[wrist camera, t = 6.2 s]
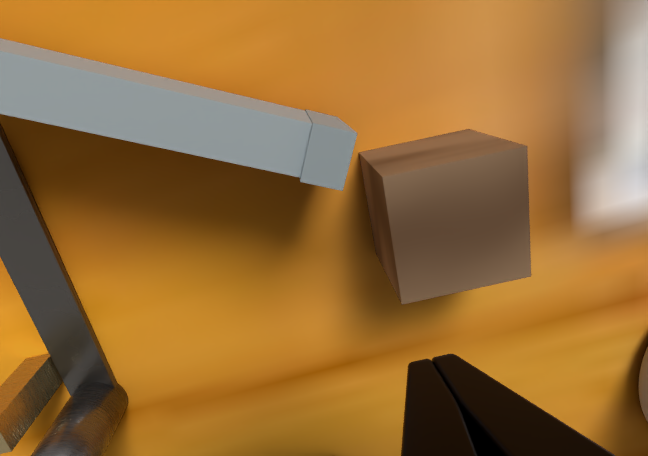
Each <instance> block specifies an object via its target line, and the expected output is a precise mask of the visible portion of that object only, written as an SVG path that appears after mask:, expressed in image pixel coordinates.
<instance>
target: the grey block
mask: <svg viewBox="0 0 648 456" xmlns="http://www.w3.org/2000/svg"><path fill="white" fill-rule="evenodd" d="M0 114H3V115H8V116H13V117H17V118H22V119H27V120H32V121H36V122H41V123H46V124H50V125H55V126H60V127H64V128H69V129H74V130H79V131H83V132H88V133H93V134H97V135H102V136H107V137H112V138H116V139H121V140H126V141H130V142H135V143H140V144H144V145H149V146H154V147H159V148H163V149H168V150H173V151H177V152H182V153H187V154H191V155H196V156H201V157H206V158H210V159H215V160H220V161H224V162H229V163H234V164H239V165H243V166H248V167H253V168H257V169H262V170H267V171H271V172H276V173H281V174H286V175H290V176H295V177H300V182H303V183H308V184H313V185H317V186H322V187H327V188H332V189H336V190H341V191H343V188H344V184H345V180H346V176H347V172H348V168H349V164H350V160H351V156H352V152H353V149H354V145H355V141H356V137H357V133H356V132H355V131H354V130H353V129H352V128H350V127H349V126H348V125H347V124H345V123H344V122H343V121H342V120H340V119H339V118H338V117H335V116H331V115H327V114H323V113H319V112H314V111H310V110H306V109H305V111H304V110H300V109H296V108H291V107H287V106H283V105H279V104H275V103H270V102H266V101H262V100H258V99H253V98H249V97H245V96H241V95H237V94H232V93H228V92H224V91H220V90H216V89H211V88H207V87H203V86H199V85H195V84H190V83H186V82H182V81H178V80H174V79H169V78H165V77H161V76H157V75H153V74H148V73H144V72H140V71H136V70H131V69H127V68H123V67H119V66H115V65H110V64H106V63H102V62H98V61H94V60H89V59H85V58H81V57H77V56H73V55H68V54H64V53H60V52H56V51H52V50H47V49H43V48H39V47H35V46H31V45H26V44H22V43H18V42H14V41H9V40H5V39H1V38H0Z"/></svg>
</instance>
